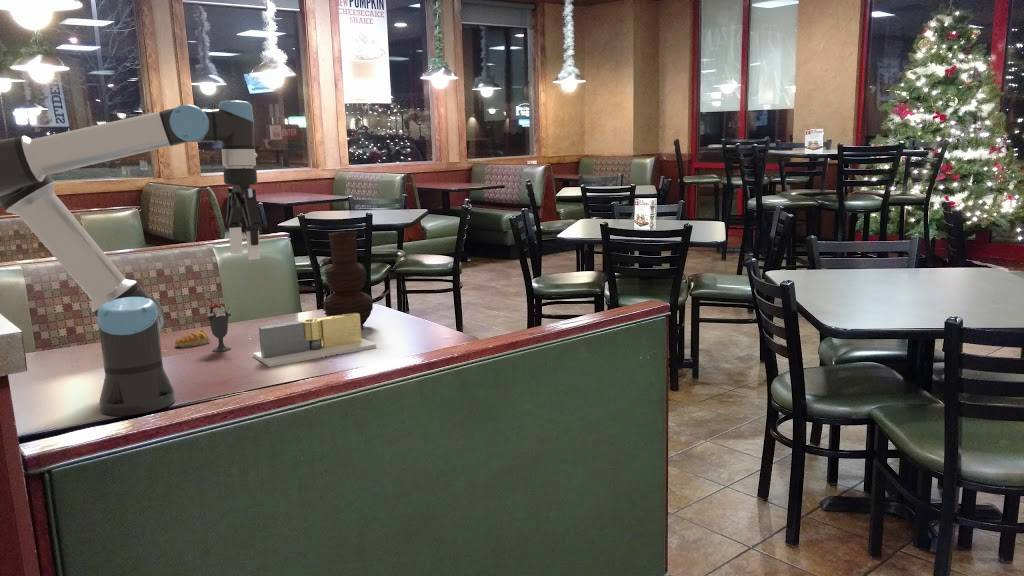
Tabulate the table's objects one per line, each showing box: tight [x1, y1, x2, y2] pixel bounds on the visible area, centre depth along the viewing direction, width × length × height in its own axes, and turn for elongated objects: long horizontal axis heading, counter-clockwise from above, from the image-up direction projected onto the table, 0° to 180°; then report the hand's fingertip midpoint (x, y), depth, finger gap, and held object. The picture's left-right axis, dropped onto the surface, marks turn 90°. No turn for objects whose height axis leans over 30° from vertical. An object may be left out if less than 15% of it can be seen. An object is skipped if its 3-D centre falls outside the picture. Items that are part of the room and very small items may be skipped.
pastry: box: [174, 329, 211, 348], centre depth 232 cm, size 9×7×4 cm
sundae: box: [205, 298, 232, 353], centre depth 223 cm, size 7×7×15 cm
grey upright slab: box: [258, 319, 322, 358], centre depth 214 cm, size 16×4×8 cm, turn 124°
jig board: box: [252, 337, 377, 368], centre depth 218 cm, size 30×14×1 cm, turn 124°
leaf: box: [300, 313, 362, 348], centre depth 220 cm, size 16×5×8 cm, turn 124°
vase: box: [322, 230, 374, 329], centre depth 244 cm, size 15×15×30 cm
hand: (245, 256), depth 191 cm, fingers open, 13 cm apart
